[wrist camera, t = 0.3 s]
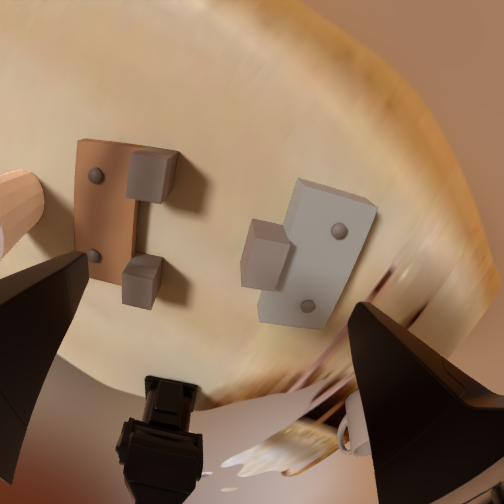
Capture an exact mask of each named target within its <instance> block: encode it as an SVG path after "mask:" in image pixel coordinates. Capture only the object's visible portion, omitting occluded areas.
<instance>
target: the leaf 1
mask: <svg viewBox="0 0 504 504" xmlns="http://www.w3.org/2000/svg"><path fill="white" fill-rule="evenodd" d="M178 152H179V151H174V150H168V149H162V148H155V147H149V146H142V145H135V144H128V143H120V142H112V141H103V140H94V139H82V140H78V143H77V154H76V167H75V186H74V236H75V251H81V252H85V253H86V254H87V256H88V266H89V278H93V279H97V280H101V281H104V282H109V283H113V284H117V285H121V286H122V304H126V305H130V306H134V307H138V308H143V309H147V310H151V309H152V306H153V303H154V301H155V298H156V295H157V293H158V290H159V288H160V281H161V271H162V261H163V257H158V256H153V255H149V254H144V253H139V252H135V249H136V234H137V222H138V211H139V201H140V200H141V201H147V202H152V203H157V204H161V203H162V202H163V200H164V199H165V198H166V196H167V195H168V194H169V193H170V191H171V190H172V186H173V180H174V174H175V169H176V163H177V158H178Z"/></svg>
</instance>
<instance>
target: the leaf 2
mask: <svg viewBox="0 0 504 504" xmlns="http://www.w3.org/2000/svg"><path fill="white" fill-rule="evenodd" d="M377 210H378V207H376V206H375V205H374V204H373V203H371V202H370V201H369V200H368V199H366V198H364V197H361V196H358V195H355V194H352V193H348V192H345V191H342V190H339V189H335V188H332V187H329V186H325V185H322V184H318V183H315V182H311V181H308V180H304V179H300V178H297V181H296V184H295V187H294V190H293V194H292V197H291V200H290V203H289V207H288V210H287V213H286V216H285V220H284V223H283V225H279V224H275V223H270V222H266V221H261V220H256V219H252V221H251V224H250V228H249V232H248V236H247V239H246V243H245V247H244V251H243V254H242V258H241V262H240V265H241V285H242V287H248V288H254V289H260V290H262V291H261V295H260V298H259V301H258V304H257V306H258V314H259V322H261V323H269V324H276V325H284V326H292V327H300V328H309V329H318V330H323V329H324V327H325V325H326V323H327V321H328V319H329V317H330V315H331V313H332V311H333V309H334V307H335V305H336V303H337V301H338V299H339V297H340V295H341V293H342V291H343V289H344V286H345V284H346V282H347V280H348V278H349V276H350V274H351V271H352V269H353V267H354V265H355V262H356V260H357V258H358V256H359V253H360V251H361V249H362V246H363V244H364V242H365V239H366V237H367V235H368V232H369V230H370V227H371V225H372V222H373V220H374V217H375V215H376V212H377Z"/></svg>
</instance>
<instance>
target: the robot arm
mask: <svg viewBox="0 0 504 504" xmlns="http://www.w3.org/2000/svg"><path fill="white" fill-rule="evenodd" d="M88 280H89V266H88V256H87V254H86V253H85V252H81V251H72V252H70V253H67V254H64V255H61V256H59V257H56V258H53V259H50V260H48V261H45V262H42V263H40V264H37V265H35V266H32V267H29V268H27V269H24V270H22V271H19V272H17V273H14V274H12V275H9V276H7V277H4V278H2V279H0V479H2V480H3V481H5V482H6V483H8V484H10V485H12V481H13V478H14V473H15V468H16V465H17V461H18V457H19V454H20V450H21V447H22V443H23V440H24V437H25V433H26V430H27V426H28V423H29V421H30V417H31V414H32V412H33V409H34V406H35V404H36V401H37V398H38V396H39V393H40V390H41V388H42V385H43V383H44V380H45V378H46V376H47V373H48V371H49V369H50V367H51V364H52V362H53V360H54V357H55V355H56V353H57V351H58V349H59V347H60V345H61V342H62V340H63V338H64V336H65V334H66V332H67V330H68V328H69V326H70V324H71V322H72V320H73V318H74V315H75V313H76V310H77V308H78V305H79V303H80V300H81V298H82V295H83V293H84V290H85V288H86V286H87V283H88ZM347 326H348V333H349V340H350V347H351V355H352V361H353V366H354V371H355V375H356V379H357V384H358V388H359V393H360V397H361V402H362V407H363V411H364V416H365V421H366V426H367V432H368V437H369V442H370V448H371V454H372V459H373V465H374V470H375V471H374V472H375V479H376V486H377V493H378V500H379V504H504V396H503V395H498V394H496V393H493V392H491V391H490V390H488V389H487V388H486V387H484V386H483V385H481V384H480V383H478V382H477V381H475V380H474V379H472V378H471V377H469V376H468V375H467V374H465V373H464V372H462V371H461V370H460V369H458V368H457V367H456V366H454V365H453V364H452V363H450V362H449V361H448V360H446V359H445V358H444V357H442V356H440V354H438V353H437V352H436V351H434V350H433V349H432V348H430V347H429V346H428V345H426V344H425V343H424V342H422V341H421V340H420V339H418V338H417V337H416V336H414V335H413V334H412V333H410V332H409V331H408V330H406V329H405V328H404V327H402V326H401V325H400V324H398V323H397V322H396V321H394V320H393V319H391V318H390V317H389V316H387V315H386V314H385V313H383V312H382V311H380V310H379V309H378V308H376V307H375V306H374V305H372V304H371V303H369V302H362V301H360V302H358V303H357V304H356V306H355V308H354V310H353V312H352V314H351V316H350V318H349V320H348V325H347ZM197 388H198V387H197V386H196V385H191V384H186V383H180V382H175V381H170V380H165V379H160V378H156V377H151V376H146V377H145V394H146V404H145V408H144V413H143V418H142V421H139V420H135V419H134V418H131V417H130V418H129V421H128V422H124V424H123V428H122V432H121V435H120V438H119V440H118V443H117V445H116V452H117V453H118V455H119V458H120V460H119V463H120V464H121V465H124V470H123V474H124V481H125V484H126V487H127V489H128V491H129V493H130V495H131V497H132V499H133V501H134V503H135V504H182V503H183V502H184V501H185V500H186V499H187V497H188V496H189V495H190V494H191V493H192V492H193V490H194V489H195V487H196V481H199V480H200V478H201V475H202V469H203V440H202V434H195V433H189V423H190V414H191V412H193V409H194V404H195V399H196V394H197Z"/></svg>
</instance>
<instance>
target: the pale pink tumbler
mask: <svg viewBox="0 0 504 504" xmlns="http://www.w3.org/2000/svg"><path fill="white" fill-rule="evenodd" d="M44 204H45V200H44V194H43V189H42V187H41V185H40V182H39V180H38V179H37V178H36V176H35V175H34V174H33V173H32V172H30V171H28V170H26V169H19V170H15V171H11V172H8V173H4V174H1V175H0V261H1V259H2V258H3V257H4V256H5V255H6V254H7V253H8V252H9V251H10V249H11V248H12V247H13V246H14V245H15V244H16V243H17V242H18V241H19V240H20V239H21V238H22V237H23V236H24V235H25V234H26V233H27V232H28V231H29V230H30V229H31V228H32V227H33V226H34V225H35V224H36V223H37V222H38V221H39V220H40V218H41V216H42V214H43V211H44Z"/></svg>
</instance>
